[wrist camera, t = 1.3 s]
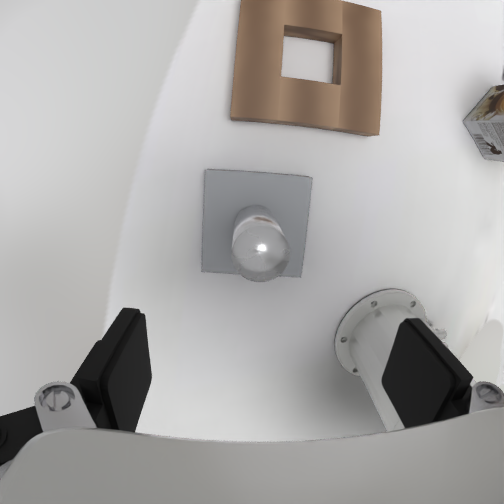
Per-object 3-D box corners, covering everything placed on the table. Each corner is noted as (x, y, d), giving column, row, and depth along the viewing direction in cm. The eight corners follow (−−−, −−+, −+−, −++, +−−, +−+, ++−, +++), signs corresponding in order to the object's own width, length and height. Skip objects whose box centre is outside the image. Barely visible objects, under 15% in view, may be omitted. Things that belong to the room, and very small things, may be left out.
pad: (308, 176, 31) (312, 177, 29) (297, 270, 34) (300, 277, 32) (207, 169, 30) (205, 169, 29) (203, 265, 33) (201, 271, 32)
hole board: (370, 18, 26) (380, 8, 23) (367, 136, 30) (379, 135, 27) (242, -3, 25) (242, -15, 22) (231, 120, 29) (230, 116, 26)
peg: (278, 206, 30) (293, 228, 21) (274, 247, 31) (286, 283, 22) (235, 203, 30) (233, 224, 21) (233, 244, 31) (230, 280, 22)
